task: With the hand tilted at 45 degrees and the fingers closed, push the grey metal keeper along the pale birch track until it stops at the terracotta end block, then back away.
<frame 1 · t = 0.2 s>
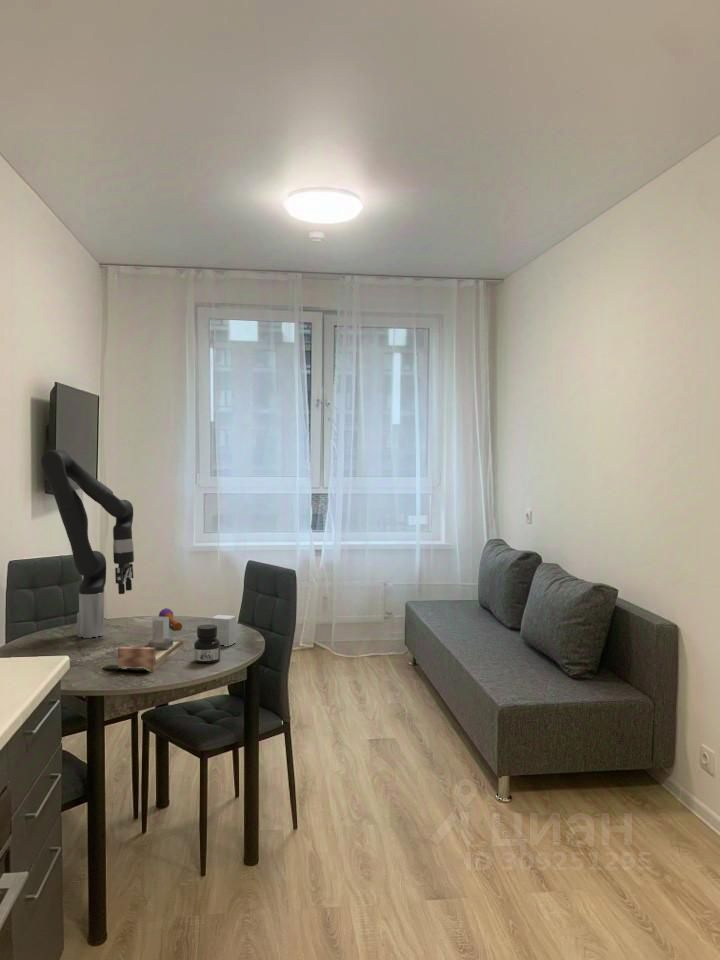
hand: (125, 592, 281), 18 cm above the table, tool pointing down, fingers open, 8 cm apart
small box: (223, 644, 272), on the table
guide track: (153, 657, 253), on the table
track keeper: (160, 632, 261), point 7 cm above the table, slide at 0.0 cm
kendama: (170, 626, 302), on the table
ink bottle: (207, 661, 250), on the table
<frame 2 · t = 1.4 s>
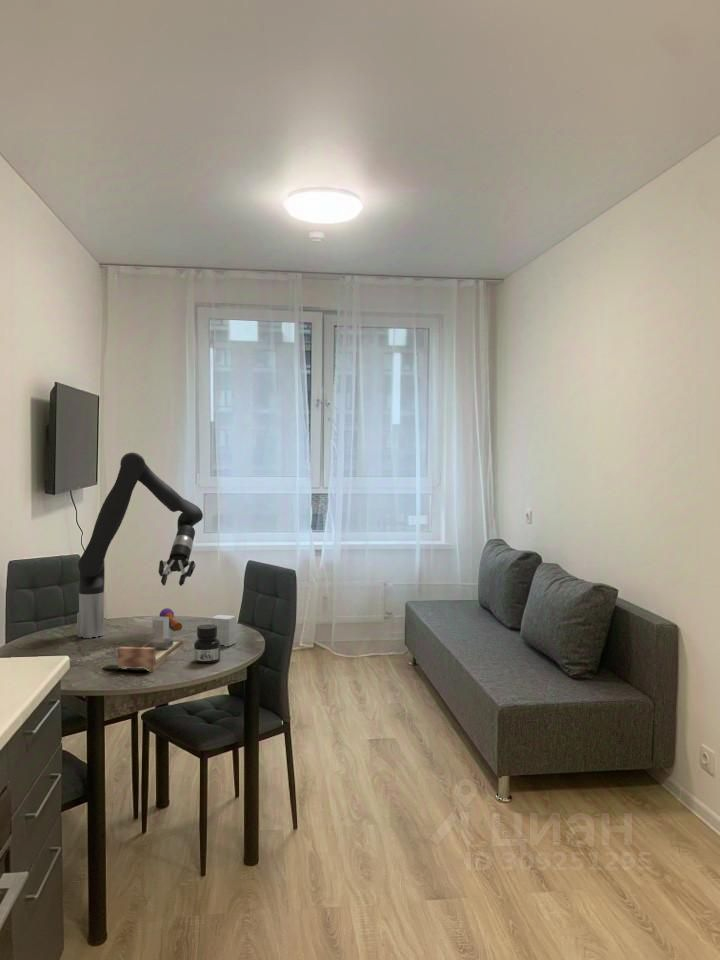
hand: (171, 584, 272), 22 cm above the table, tool tilted 45°, fingers open, 6 cm apart
nothing on the table moved.
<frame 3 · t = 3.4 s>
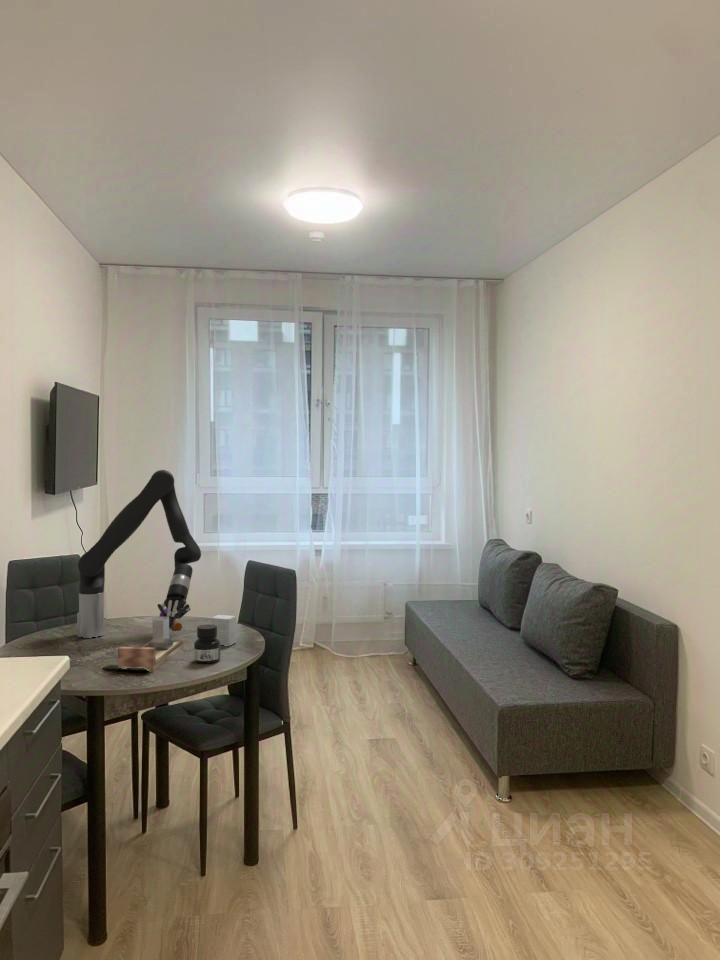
hand: (168, 627, 269), 7 cm above the table, tool tilted 45°, fingers closed
nothing on the table moved.
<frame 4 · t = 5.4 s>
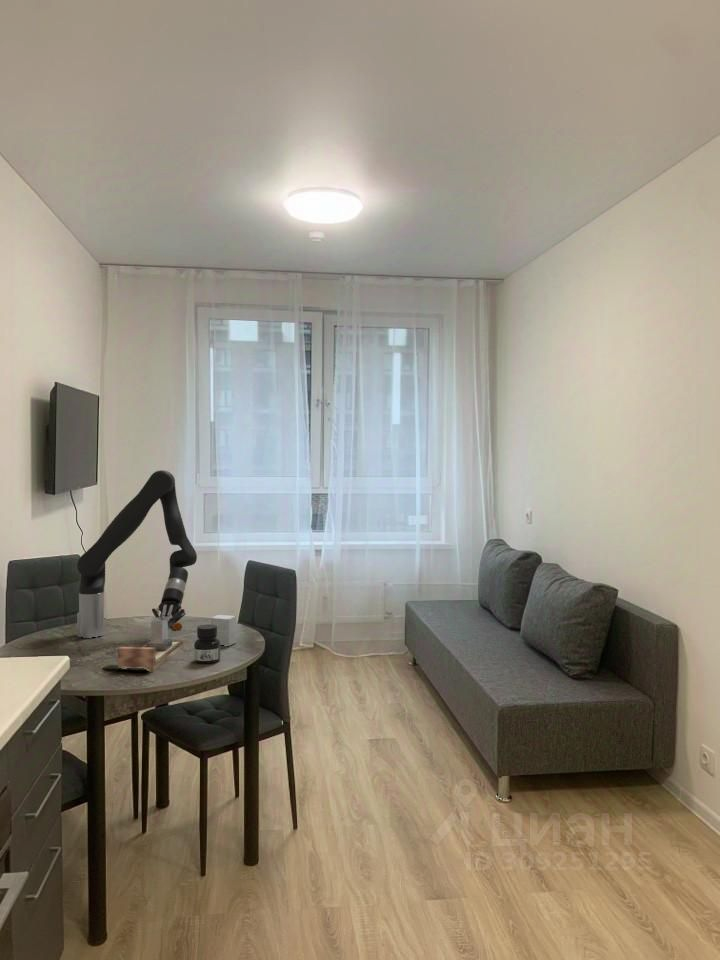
hand: (163, 632, 263), 6 cm above the table, tool tilted 45°, fingers closed
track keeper: (159, 633, 260), point 7 cm above the table, slide at 1.3 cm, touching gripper
everything else where it was.
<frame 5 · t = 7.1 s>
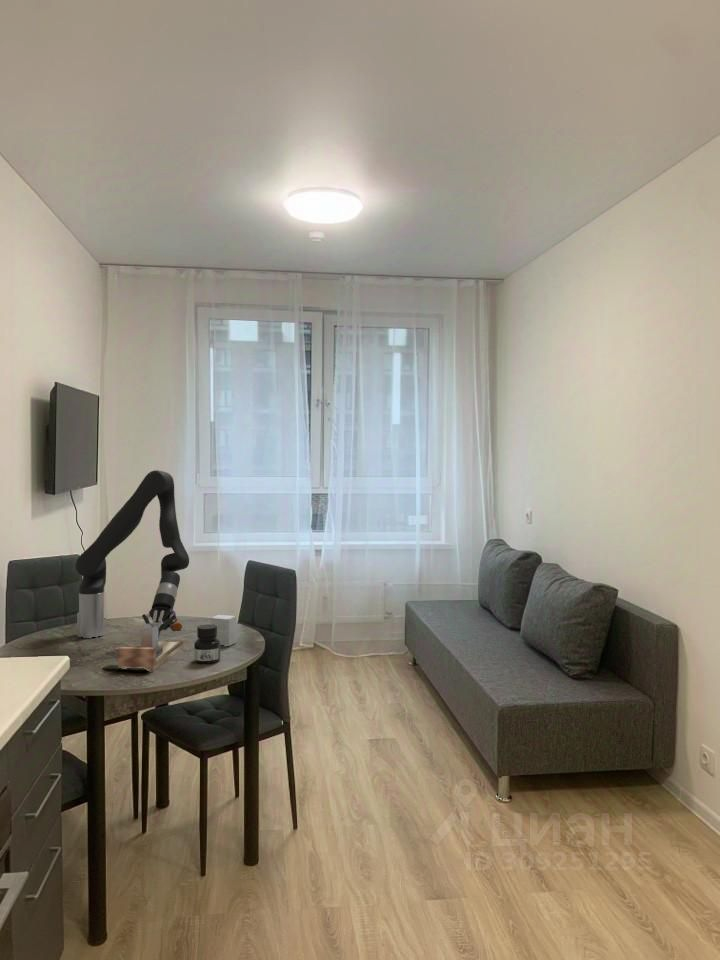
hand: (153, 639, 253), 6 cm above the table, tool tilted 45°, fingers closed
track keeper: (149, 640, 250), point 7 cm above the table, slide at 11.1 cm, touching gripper
everything else where it was.
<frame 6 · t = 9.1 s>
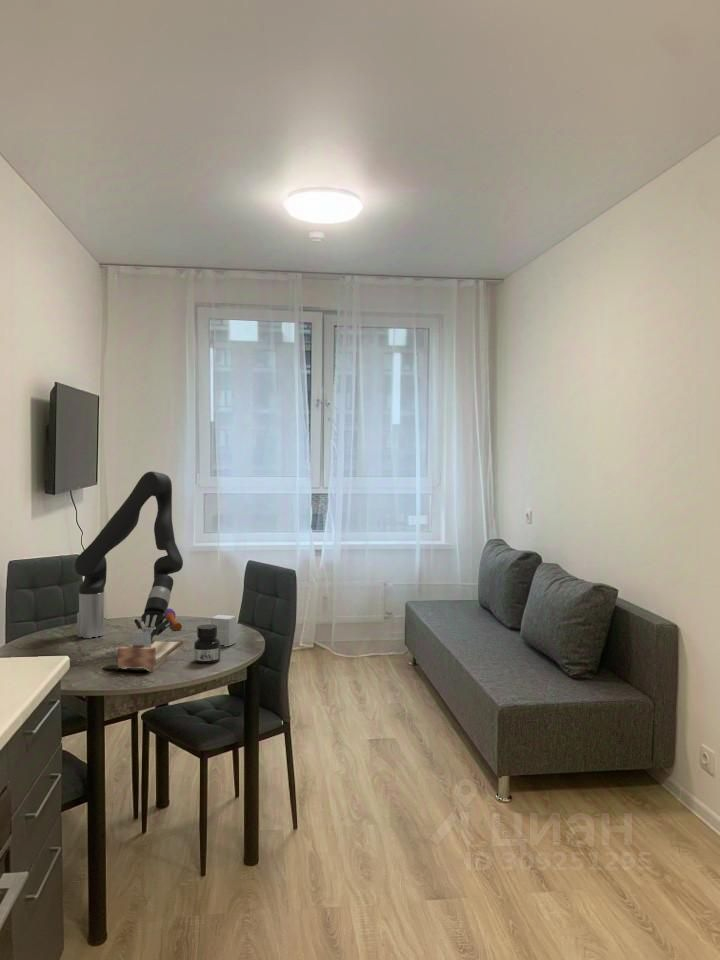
hand: (145, 644, 246), 6 cm above the table, tool tilted 45°, fingers closed
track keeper: (141, 646, 242), point 7 cm above the table, slide at 18.6 cm, touching gripper
everything else where it was.
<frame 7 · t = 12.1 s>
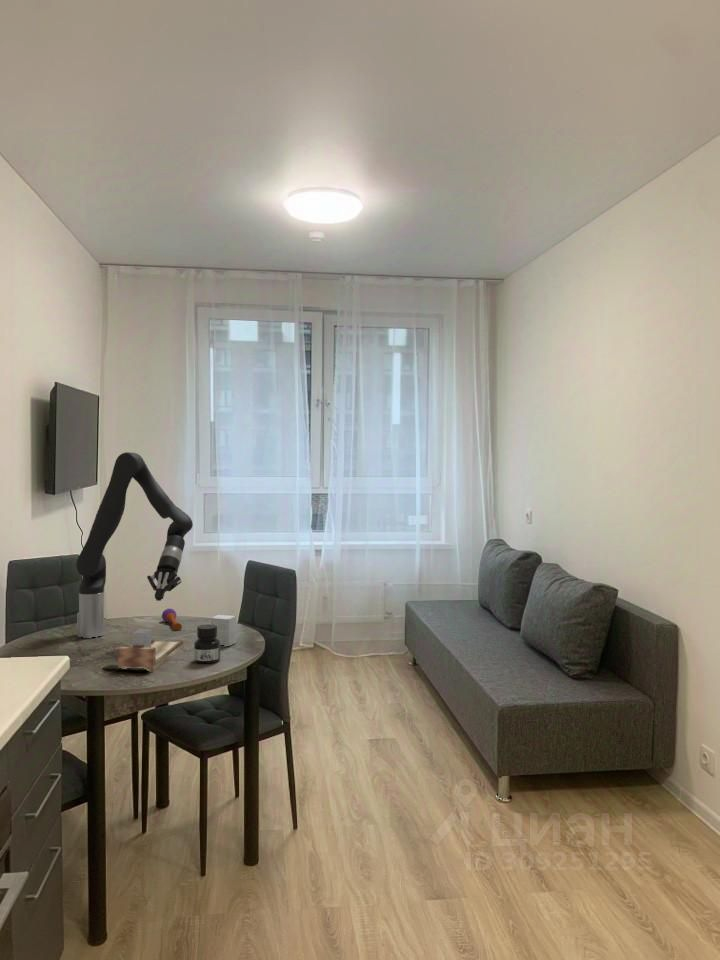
hand: (158, 599, 258), 20 cm above the table, tool tilted 45°, fingers closed
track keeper: (141, 646, 242), point 7 cm above the table, slide at 18.5 cm
everything else where it was.
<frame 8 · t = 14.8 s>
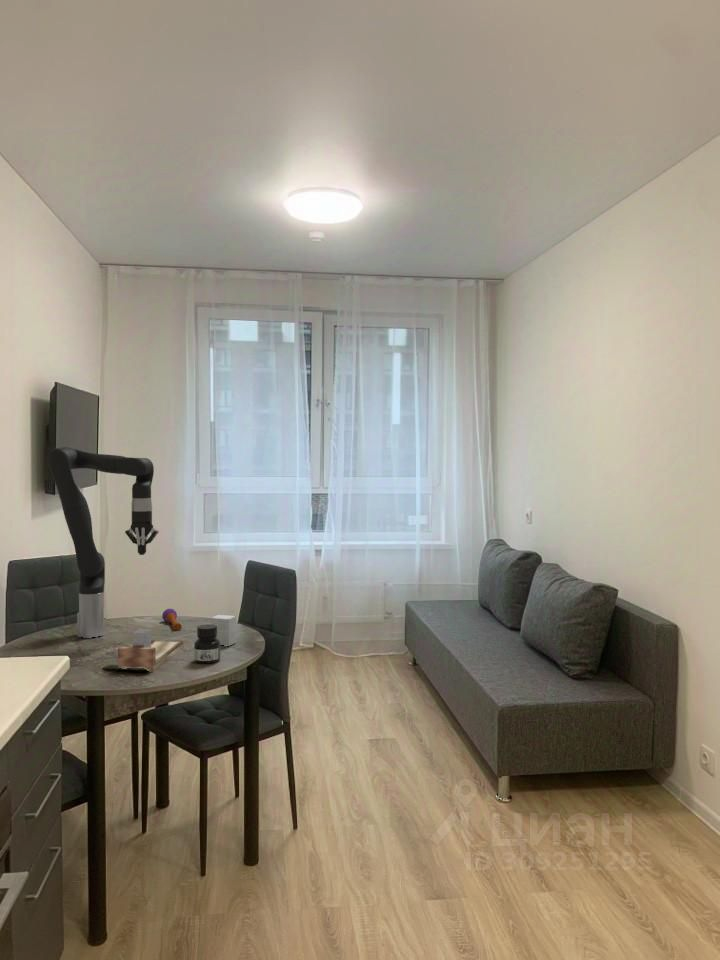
hand: (142, 554, 277), 33 cm above the table, tool pointing down, fingers closed
at the end: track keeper slide at 18.5 cm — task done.
